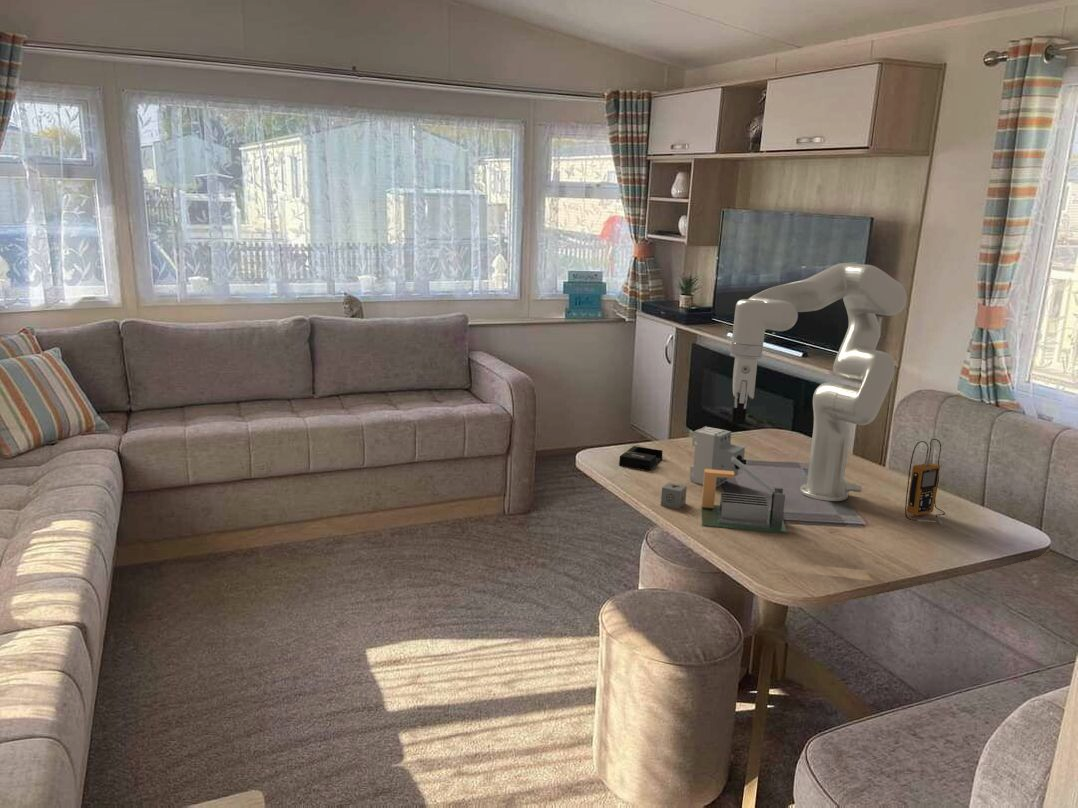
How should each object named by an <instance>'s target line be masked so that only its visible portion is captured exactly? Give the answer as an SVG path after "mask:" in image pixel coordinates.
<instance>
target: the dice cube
mask: <svg viewBox="0 0 1078 808" xmlns="http://www.w3.org/2000/svg"><path fill="white" fill-rule="evenodd" d="M687 489H688V486H687V485H683V484H680V483H673V482H667V483H666V484H665V485H663V486H662V487H661V496H660V497H661V498H660V506H662V507H668V508H672V509H676V510H680V509H682V507H684V505H686V501H687V491H688V490H687Z"/></svg>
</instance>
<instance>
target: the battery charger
mask: <svg viewBox="0 0 1078 808" xmlns="http://www.w3.org/2000/svg"><path fill="white" fill-rule="evenodd" d="M662 460H663V450H662V449H656V448H650V447H645V446H644V447H642V446H637V445H633V446H632V447H630V448H628V450H626V451H624V452H623V453H622V454H621V455H619V460H618V461H619V462H618V465H620V467H624V466H625V468H630V467H631V469H635V468H636V470H641V471H647V472H650V471H651V470H652V469H653V468H655V466H657V465H658V464H659V463H660V462H661V461H662Z"/></svg>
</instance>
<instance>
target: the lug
mask: <svg viewBox="0 0 1078 808" xmlns="http://www.w3.org/2000/svg"><path fill="white" fill-rule="evenodd" d="M716 477H722V478H727V479H730V478H731V479H735V477H734V471H725V470H713V469H705V470H704V481H703V485H702V494H701V504H702V507H707V508H714V505H715V499H716V498H715V497H716V488H717V487H716Z"/></svg>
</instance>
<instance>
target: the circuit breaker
mask: <svg viewBox="0 0 1078 808" xmlns="http://www.w3.org/2000/svg"><path fill="white" fill-rule="evenodd" d="M731 440H732V431H730V430H727V429H722V428H721V429H720V428H716V427H710V426H703V427H702V428H699V429H696V430H694V431H693V436H692V441H691V443H692V444H691V445H692V447H693V446H694V456H693V464H692V465H691V466H689V467H690V468H689V469H690V471H689V480H688V482H693V483H695V484H699V485H702V486H703V481H704V470H705V469H713V470H725V471H734V478H735V477H737V476H738V475H740V474H742V473H743V472H744V471H743V470H742V469H741V468H740V467H738V466H737V465H736V464H734V463H733V462H732V461H731V458H732V457H733V456H734V457H735V458H736V459H738V460H739V461H740V462H741V463H743V464H744V465H745V466H746V465H747V459H745V451H746V450H745V449H746V447H744V446H740V445H735V444H731ZM729 479H730V480H731V479H732V478H729ZM726 480H727V481H728V478H722V477H716V488H718V487H719V486H721V485H723V484H724V482H725V481H726ZM727 481H726V482H727ZM726 482H725V483H726ZM722 483H723V484H722Z"/></svg>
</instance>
